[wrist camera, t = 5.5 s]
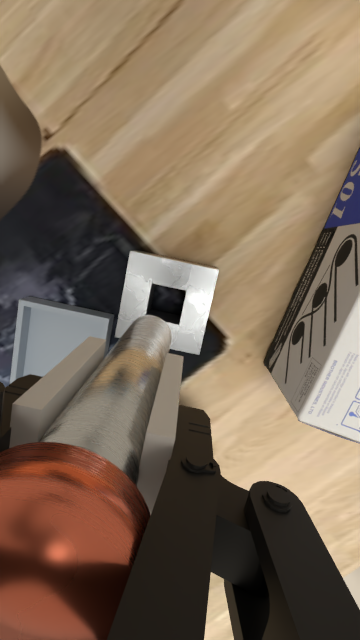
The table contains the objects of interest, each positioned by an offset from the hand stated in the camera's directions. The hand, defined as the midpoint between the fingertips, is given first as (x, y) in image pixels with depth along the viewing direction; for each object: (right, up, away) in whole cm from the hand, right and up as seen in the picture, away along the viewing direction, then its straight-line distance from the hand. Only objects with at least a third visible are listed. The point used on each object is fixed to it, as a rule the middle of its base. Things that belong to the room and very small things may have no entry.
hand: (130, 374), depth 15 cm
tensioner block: (+1, +5, +24) cm, 25 cm away
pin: (0, +1, +6) cm, 7 cm away
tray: (-12, -2, +26) cm, 29 cm away
